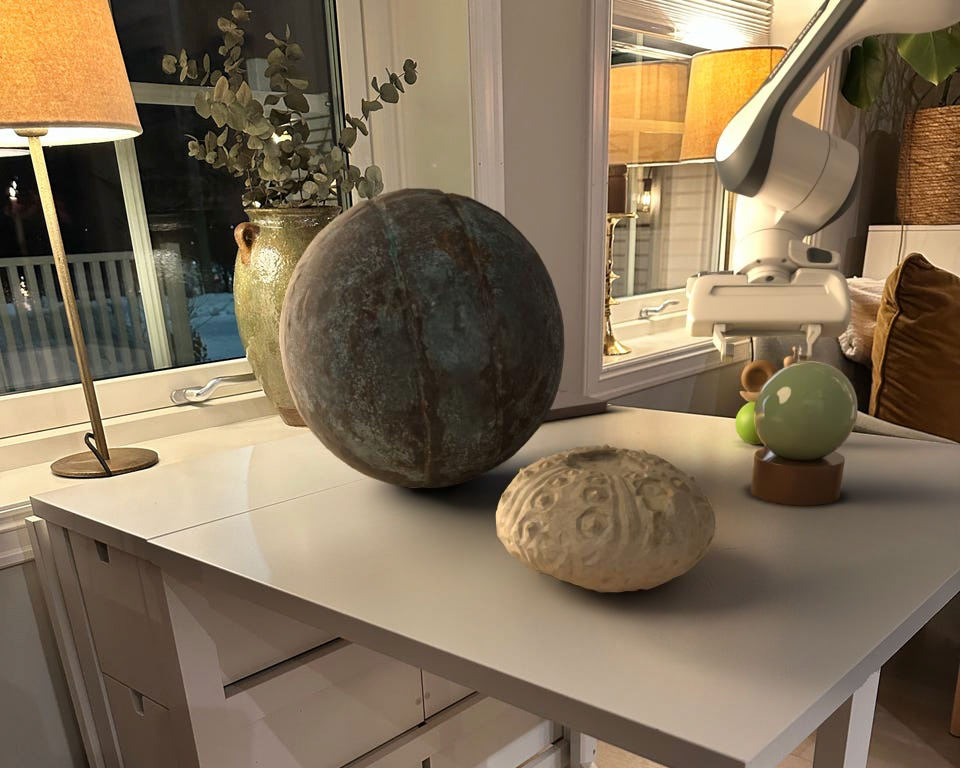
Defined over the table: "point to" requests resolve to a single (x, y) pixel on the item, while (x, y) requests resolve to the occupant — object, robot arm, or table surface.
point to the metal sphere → (422, 338)
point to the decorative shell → (606, 519)
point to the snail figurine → (755, 395)
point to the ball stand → (802, 434)
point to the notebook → (574, 405)
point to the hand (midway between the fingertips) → (765, 360)
